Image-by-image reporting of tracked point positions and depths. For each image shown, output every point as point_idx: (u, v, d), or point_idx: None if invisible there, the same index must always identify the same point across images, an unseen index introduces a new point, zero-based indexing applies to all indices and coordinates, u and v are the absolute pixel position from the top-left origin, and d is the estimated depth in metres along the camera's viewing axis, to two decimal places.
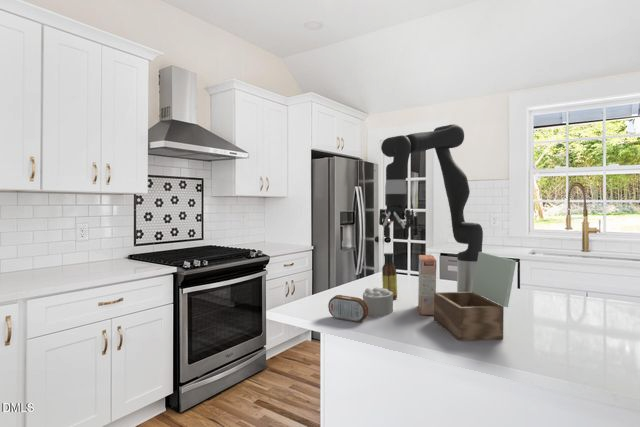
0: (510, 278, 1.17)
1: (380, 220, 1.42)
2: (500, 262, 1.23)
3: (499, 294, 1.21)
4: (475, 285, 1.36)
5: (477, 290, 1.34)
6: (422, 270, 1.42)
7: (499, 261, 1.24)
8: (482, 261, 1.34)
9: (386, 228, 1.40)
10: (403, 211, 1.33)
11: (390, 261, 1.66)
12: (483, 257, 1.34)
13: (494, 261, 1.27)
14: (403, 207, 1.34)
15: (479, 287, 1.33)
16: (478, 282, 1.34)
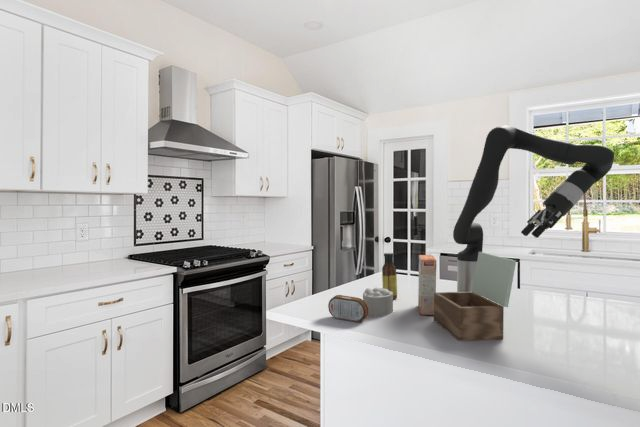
0: (510, 278, 1.17)
1: None
2: (500, 262, 1.23)
3: (499, 294, 1.21)
4: (475, 285, 1.36)
5: (477, 290, 1.34)
6: (422, 270, 1.42)
7: (499, 261, 1.24)
8: (482, 261, 1.34)
9: None
10: None
11: (390, 261, 1.66)
12: (483, 257, 1.34)
13: (494, 261, 1.27)
14: None
15: (479, 287, 1.33)
16: (478, 282, 1.34)
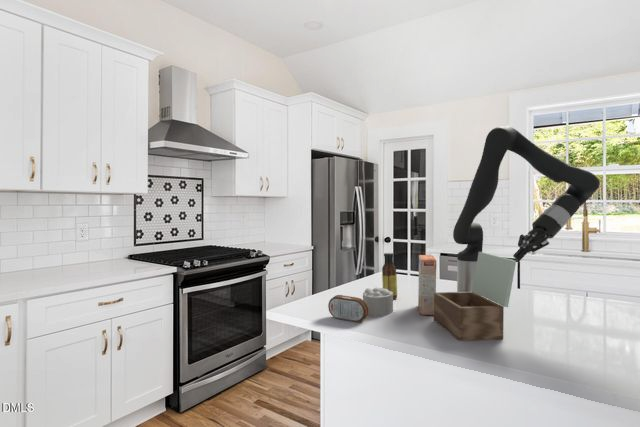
0: (510, 278, 1.17)
1: None
2: (500, 262, 1.23)
3: (499, 294, 1.21)
4: (475, 285, 1.36)
5: (477, 290, 1.34)
6: (422, 270, 1.42)
7: (499, 261, 1.24)
8: (482, 261, 1.34)
9: None
10: None
11: (390, 261, 1.66)
12: (483, 257, 1.34)
13: (494, 261, 1.27)
14: None
15: (479, 287, 1.33)
16: (478, 282, 1.34)
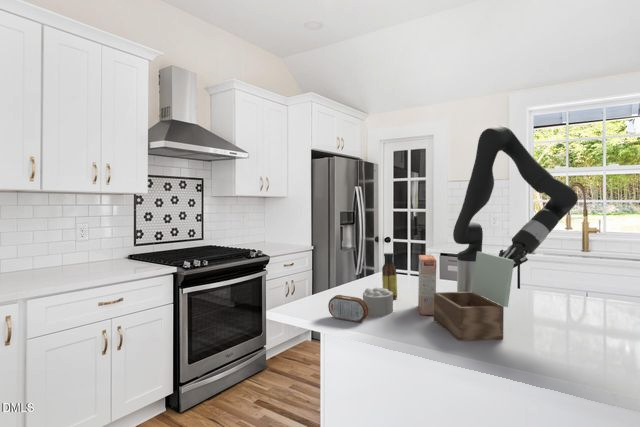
0: (509, 278, 1.17)
1: None
2: (498, 262, 1.23)
3: (499, 294, 1.21)
4: (475, 285, 1.36)
5: (477, 290, 1.34)
6: (422, 270, 1.42)
7: (497, 261, 1.24)
8: (480, 261, 1.34)
9: None
10: None
11: (390, 261, 1.66)
12: (481, 257, 1.34)
13: (492, 261, 1.27)
14: None
15: (479, 287, 1.33)
16: (477, 282, 1.34)
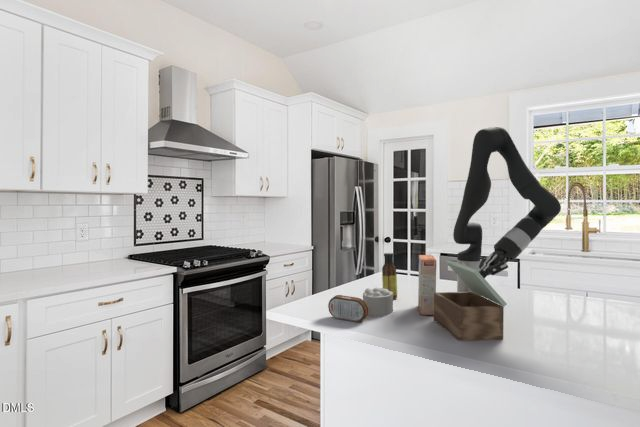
0: (486, 285, 1.17)
1: None
2: (467, 272, 1.22)
3: (491, 296, 1.21)
4: (469, 287, 1.36)
5: (474, 291, 1.34)
6: (422, 270, 1.42)
7: (466, 272, 1.23)
8: (455, 270, 1.33)
9: None
10: None
11: (390, 261, 1.66)
12: (453, 267, 1.33)
13: (463, 271, 1.26)
14: None
15: (473, 289, 1.33)
16: (469, 285, 1.34)
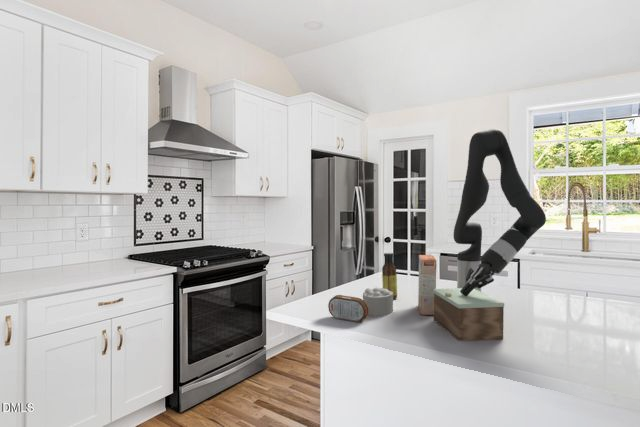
0: (476, 306, 1.16)
1: None
2: None
3: None
4: None
5: None
6: (422, 270, 1.42)
7: None
8: None
9: None
10: None
11: (390, 261, 1.66)
12: None
13: None
14: None
15: None
16: None
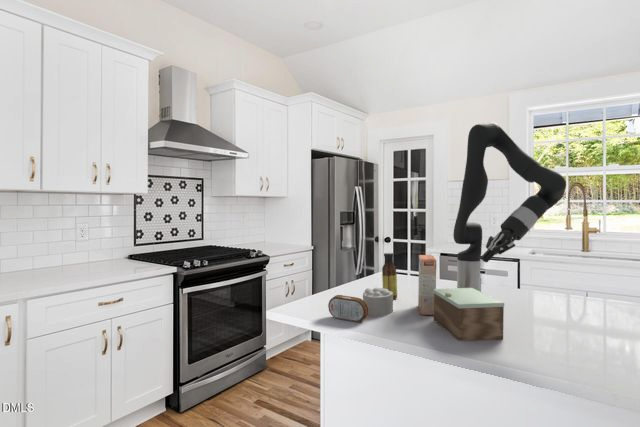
0: (476, 306, 1.16)
1: None
2: None
3: None
4: None
5: None
6: (422, 270, 1.42)
7: None
8: None
9: None
10: None
11: (390, 261, 1.66)
12: None
13: None
14: None
15: None
16: None
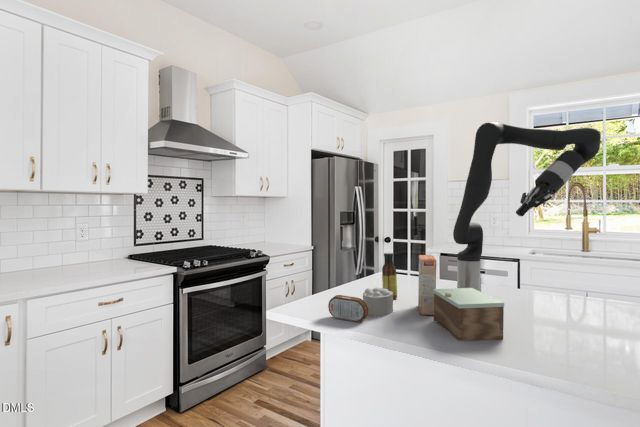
0: (476, 306, 1.16)
1: None
2: None
3: None
4: None
5: None
6: (422, 270, 1.42)
7: None
8: None
9: None
10: None
11: (390, 261, 1.66)
12: None
13: None
14: None
15: None
16: None
